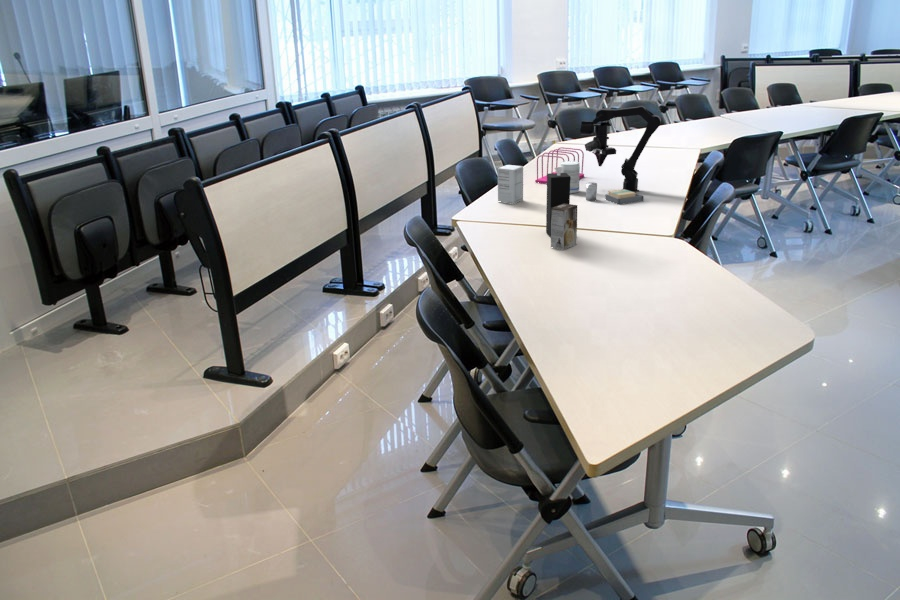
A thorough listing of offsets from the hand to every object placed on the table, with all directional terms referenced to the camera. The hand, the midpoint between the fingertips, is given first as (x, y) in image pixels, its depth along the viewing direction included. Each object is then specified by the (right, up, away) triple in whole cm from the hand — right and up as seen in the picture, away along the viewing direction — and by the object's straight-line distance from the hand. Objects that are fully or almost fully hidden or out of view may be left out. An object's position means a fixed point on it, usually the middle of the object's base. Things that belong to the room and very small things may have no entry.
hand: (600, 166), depth 365 cm
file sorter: (-16, -2, +29) cm, 33 cm away
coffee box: (-31, -47, -82) cm, 99 cm away
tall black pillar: (-31, -41, -67) cm, 84 cm away
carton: (+7, -20, -18) cm, 28 cm away
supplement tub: (-15, -13, +3) cm, 20 cm away
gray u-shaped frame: (+8, -20, -17) cm, 27 cm away
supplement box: (-46, -19, -12) cm, 51 cm away
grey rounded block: (-7, -19, -15) cm, 25 cm away
